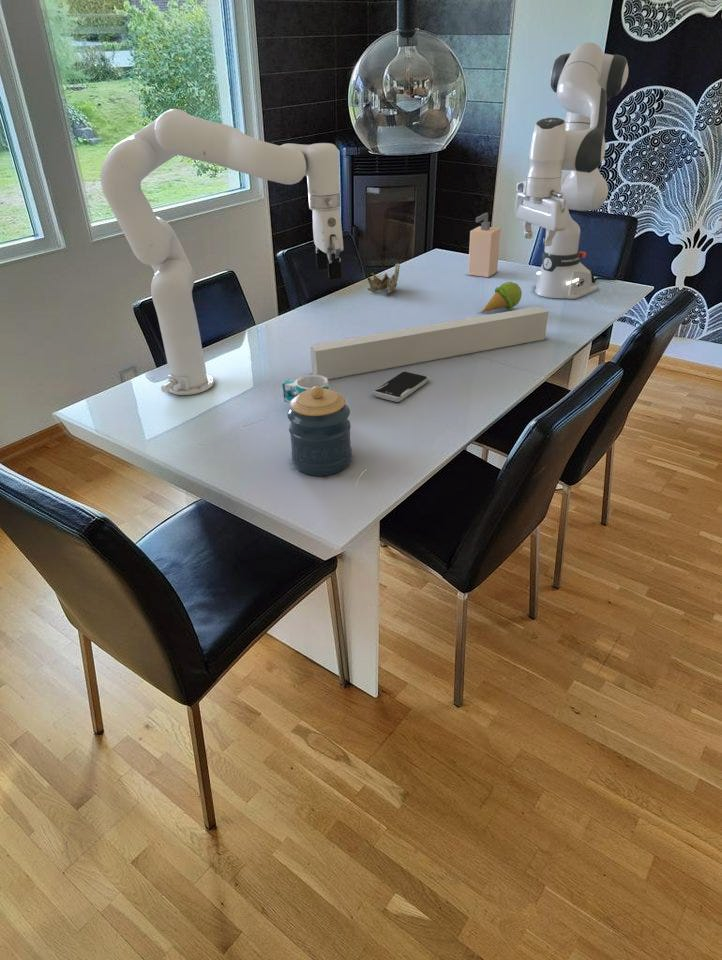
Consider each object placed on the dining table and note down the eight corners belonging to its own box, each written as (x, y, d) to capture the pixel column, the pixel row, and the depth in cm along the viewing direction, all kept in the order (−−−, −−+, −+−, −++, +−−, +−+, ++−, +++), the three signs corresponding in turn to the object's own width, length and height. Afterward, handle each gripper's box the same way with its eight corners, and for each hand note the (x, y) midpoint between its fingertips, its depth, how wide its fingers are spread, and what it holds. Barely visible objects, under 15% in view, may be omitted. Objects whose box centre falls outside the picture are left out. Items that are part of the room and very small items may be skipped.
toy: (490, 328, 222) (529, 303, 221) (483, 307, 216) (523, 282, 215) (478, 316, 228) (516, 293, 227) (471, 297, 222) (510, 272, 221)
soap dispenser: (476, 269, 264) (480, 210, 252) (497, 271, 260) (501, 211, 248) (463, 277, 255) (466, 216, 243) (484, 280, 251) (488, 218, 239)
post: (317, 381, 181) (315, 351, 176) (312, 374, 185) (310, 344, 180) (545, 339, 200) (548, 311, 195) (535, 333, 204) (538, 306, 199)
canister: (282, 471, 142) (273, 395, 133) (307, 442, 152) (301, 370, 143) (338, 481, 138) (333, 404, 129) (360, 451, 148) (358, 377, 139)
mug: (318, 422, 160) (315, 391, 156) (277, 412, 166) (274, 381, 161) (336, 409, 166) (334, 377, 162) (297, 399, 171) (294, 368, 167)
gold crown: (411, 271, 247) (402, 252, 239) (394, 304, 243) (385, 285, 235) (390, 269, 252) (380, 250, 243) (373, 301, 248) (363, 283, 239)
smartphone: (428, 377, 177) (398, 398, 167) (428, 381, 178) (398, 403, 168) (403, 371, 181) (372, 391, 171) (403, 375, 182) (373, 396, 171)
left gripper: (351, 206, 154) (354, 280, 163) (328, 194, 168) (332, 263, 177) (320, 209, 152) (325, 284, 161) (299, 197, 166) (305, 267, 175)
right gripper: (576, 193, 170) (569, 248, 178) (532, 181, 187) (527, 233, 194) (555, 195, 169) (549, 251, 176) (512, 183, 185) (508, 235, 192)
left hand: (328, 273), depth 169 cm, fingers open, 9 cm apart
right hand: (537, 241), depth 185 cm, fingers open, 8 cm apart
